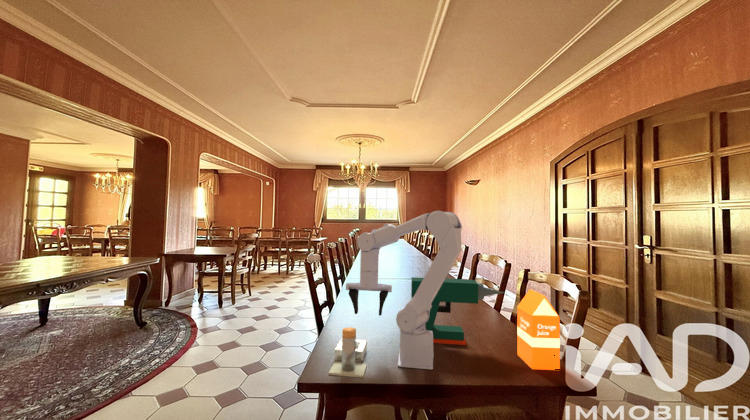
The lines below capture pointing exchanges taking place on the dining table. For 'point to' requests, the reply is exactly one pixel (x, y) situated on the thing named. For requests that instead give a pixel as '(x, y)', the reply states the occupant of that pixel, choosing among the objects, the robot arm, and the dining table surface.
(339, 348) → the block
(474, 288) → the power tool
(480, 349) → the dining table surface
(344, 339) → the orange capped bottle
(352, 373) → the key mat
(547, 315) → the orange juice
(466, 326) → the dining table surface
